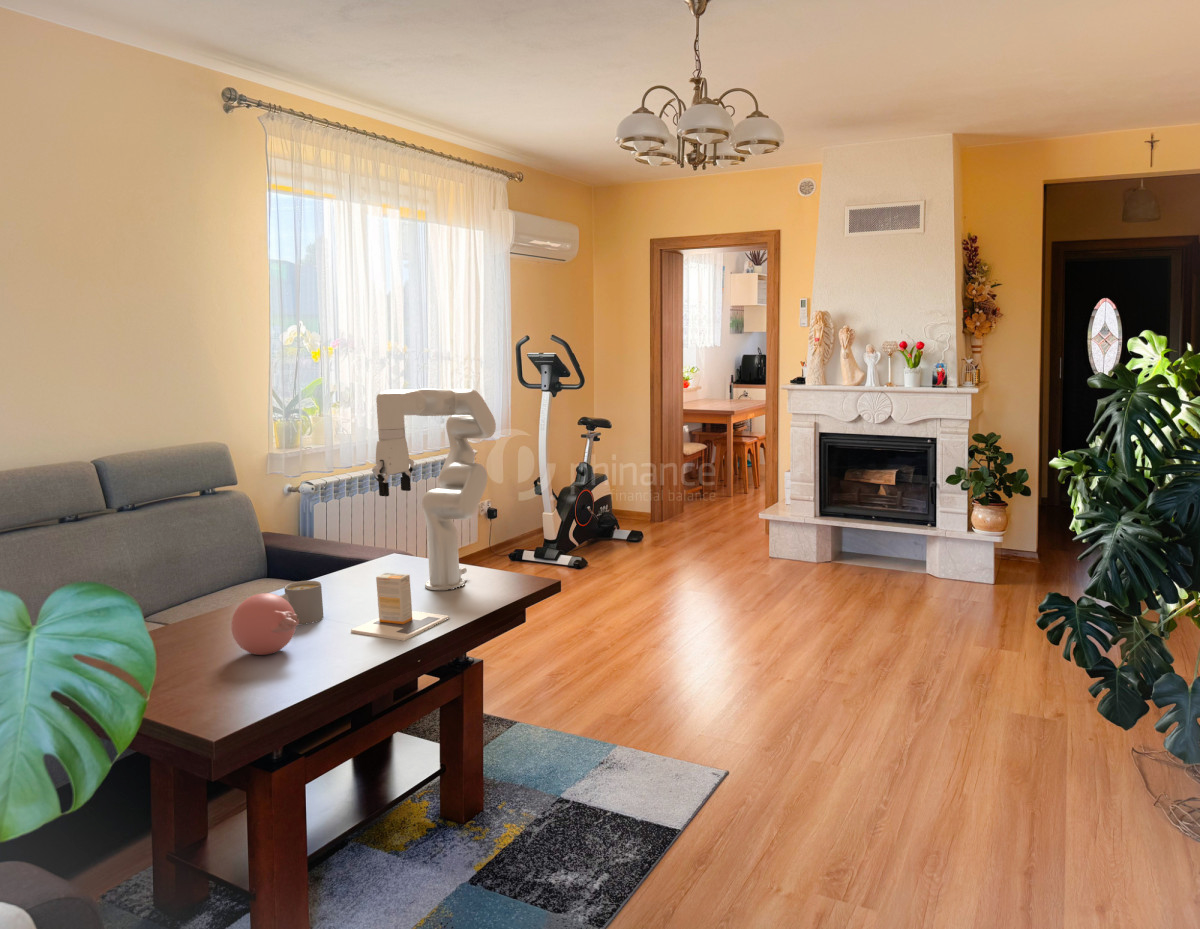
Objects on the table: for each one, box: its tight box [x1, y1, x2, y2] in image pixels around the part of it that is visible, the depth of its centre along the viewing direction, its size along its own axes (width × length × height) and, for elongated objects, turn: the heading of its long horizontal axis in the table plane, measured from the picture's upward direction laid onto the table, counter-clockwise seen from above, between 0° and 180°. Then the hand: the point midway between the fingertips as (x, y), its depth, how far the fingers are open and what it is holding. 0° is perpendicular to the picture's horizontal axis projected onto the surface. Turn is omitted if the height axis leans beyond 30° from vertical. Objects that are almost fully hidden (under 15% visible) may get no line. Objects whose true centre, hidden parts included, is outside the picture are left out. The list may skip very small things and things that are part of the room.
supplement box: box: [375, 572, 413, 624], centre depth 240 cm, size 8×5×13 cm, turn 68°
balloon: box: [230, 592, 299, 656], centre depth 218 cm, size 15×20×15 cm
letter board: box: [350, 610, 450, 642], centre depth 240 cm, size 20×18×1 cm
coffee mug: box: [279, 580, 324, 625], centre depth 247 cm, size 13×10×10 cm
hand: (395, 493), depth 252 cm, fingers open, 9 cm apart
